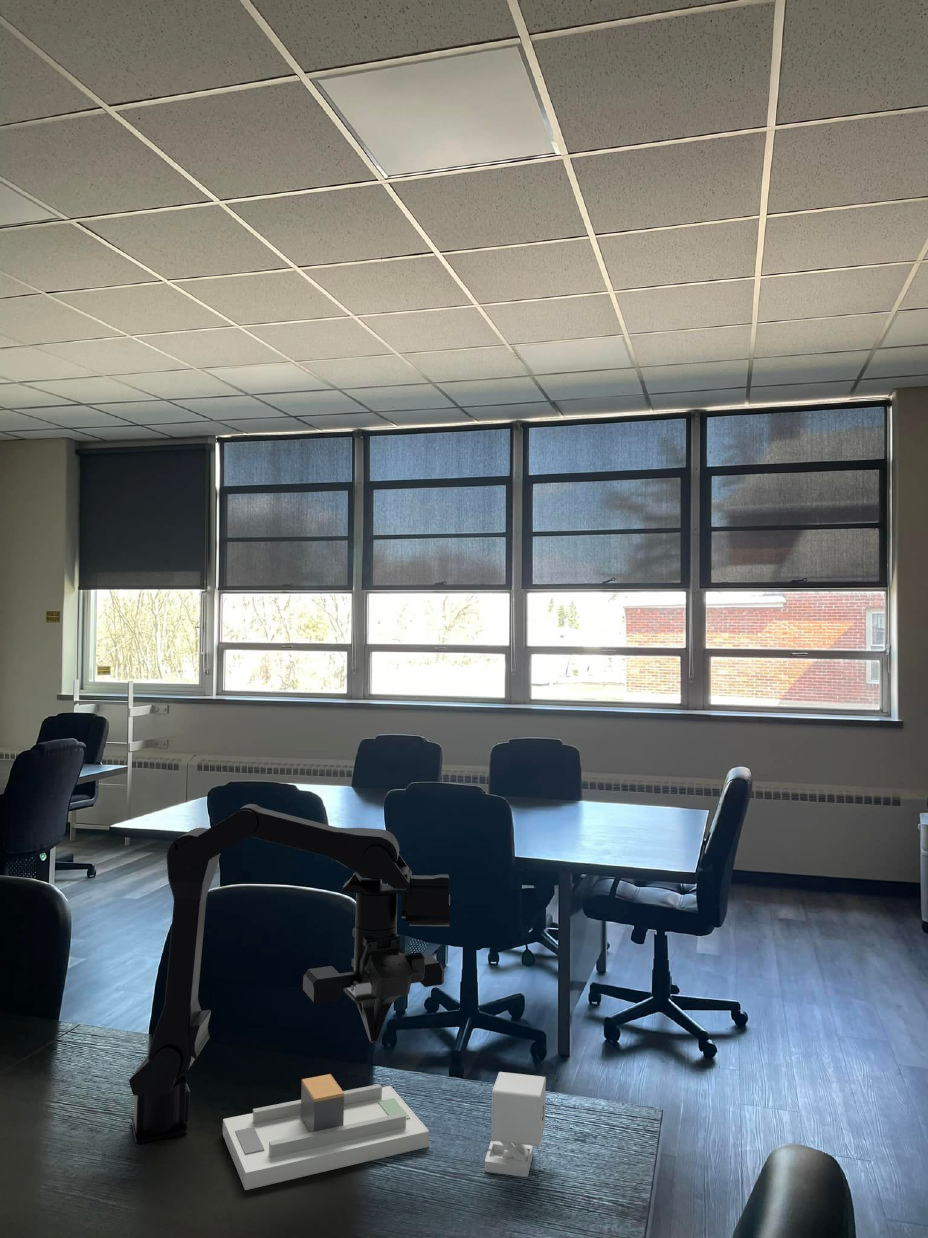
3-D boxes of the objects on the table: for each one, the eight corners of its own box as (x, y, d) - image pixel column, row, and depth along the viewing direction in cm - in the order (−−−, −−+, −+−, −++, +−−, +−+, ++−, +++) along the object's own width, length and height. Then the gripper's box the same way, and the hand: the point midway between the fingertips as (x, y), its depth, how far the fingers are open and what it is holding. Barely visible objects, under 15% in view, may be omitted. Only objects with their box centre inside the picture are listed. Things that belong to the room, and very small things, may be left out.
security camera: (539, 1181, 109) (540, 1097, 109) (483, 1173, 110) (485, 1091, 111) (545, 1154, 115) (546, 1075, 115) (492, 1147, 116) (493, 1069, 117)
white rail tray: (245, 1190, 105) (246, 1160, 106) (222, 1134, 118) (223, 1107, 118) (428, 1147, 116) (429, 1119, 116) (390, 1100, 128) (390, 1075, 129)
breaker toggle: (313, 1138, 113) (314, 1099, 114) (300, 1117, 119) (301, 1079, 119) (343, 1132, 115) (344, 1093, 115) (329, 1111, 120) (330, 1074, 121)
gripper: (328, 949, 110) (324, 1078, 109) (462, 933, 118) (460, 1053, 117) (303, 926, 120) (300, 1044, 119) (428, 912, 128) (426, 1022, 127)
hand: (373, 1041), depth 120 cm, fingers closed
